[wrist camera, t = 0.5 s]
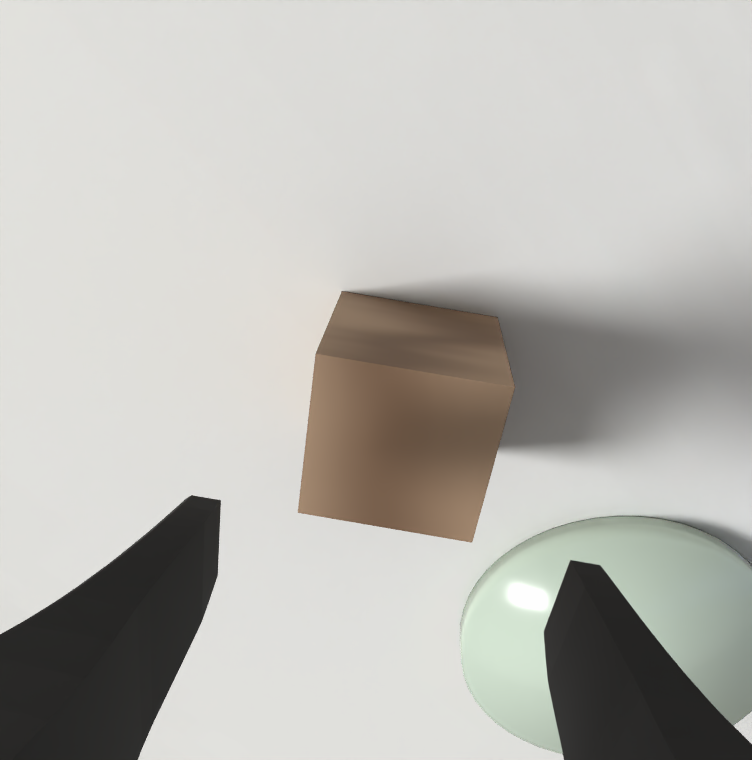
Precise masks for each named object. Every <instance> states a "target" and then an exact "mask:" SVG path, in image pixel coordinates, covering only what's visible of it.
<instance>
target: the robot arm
mask: <svg viewBox="0 0 752 760" xmlns="http://www.w3.org/2000/svg"><path fill="white" fill-rule="evenodd" d="M220 506H221V500H216V499H210V498H204V497H198V496H192V495H191V496H190V497H188V498H187V499H185V500H184V501H183V502H182V503H181V504H180V505H179V506H177V507H176V508H175V509H174V510H173V511H172V512H171V513H170V514H168V515H167V516H166V517H165V518H164V519H163V520H162V521H161V522H159V523H158V524H157V525H156V526H155V527H154V528H152V529H151V530H150V531H149V532H148V533H146V534H145V535H144V536H143V537H142V538H140V539H139V540H138V541H137V542H136V543H134V544H133V545H132V546H131V547H129V548H128V549H127V550H126V551H124V552H123V553H122V554H121V555H119V556H118V557H117V558H116V559H114V560H113V561H112V562H111V563H109V564H108V565H107V566H105V567H104V568H102V569H101V570H100V571H98V572H97V573H96V574H94V575H93V576H91V577H90V578H89V579H87V580H86V581H85V582H83V583H82V584H81V585H79V586H78V587H76V588H75V589H73V590H72V591H71V592H69V593H68V594H66V595H65V596H63V597H62V598H60V599H59V600H57V601H56V602H54V603H52V604H51V605H49V606H48V607H46V608H45V609H43V610H41V611H40V612H38V613H37V614H35V615H33V616H32V617H30V618H28V619H27V620H25V621H23V622H22V623H20V624H18V625H16V626H15V627H13V628H11V629H9V630H7V631H6V632H4V633H2V634H0V760H138V758H139V755H140V752H141V750H142V747H143V745H144V743H145V740H146V738H147V736H148V733H149V731H150V729H151V726H152V724H153V722H154V720H155V718H156V716H157V714H158V712H159V710H160V708H161V706H162V703H163V701H164V699H165V697H166V695H167V693H168V691H169V689H170V687H171V685H172V683H173V681H174V679H175V677H176V674H177V672H178V670H179V668H180V666H181V664H182V662H183V660H184V658H185V656H186V654H187V652H188V650H189V647H190V645H191V643H192V641H193V639H194V637H195V635H196V633H197V631H198V628H199V626H200V624H201V622H202V619H203V616H204V614H205V611H206V608H207V605H208V602H209V599H210V596H211V594H212V591H213V588H214V585H215V582H216V579H217V576H218V553H219V529H220ZM544 643H545V657H546V668H547V678H548V685H549V690H550V695H551V700H552V704H553V709H554V714H555V719H556V724H557V728H558V733H559V738H560V742H561V747H562V752H563V756H564V760H752V744H751V743H750V742H749V741H748V740H747V739H746V738H745V737H744V736H743V735H742V734H741V733H740V732H739V731H738V730H737V729H736V728H735V727H734V726H733V725H732V724H731V723H730V722H729V721H728V720H727V719H726V718H725V717H724V716H723V715H722V714H721V713H720V712H719V711H718V710H717V709H716V707H715V706H714V705H713V704H712V703H711V702H710V701H709V700H708V699H707V698H706V697H705V695H704V694H703V693H702V692H701V691H700V690H699V689H698V687H697V686H696V685H695V684H694V683H693V682H692V681H691V679H690V678H689V677H688V676H687V675H686V674H685V673H684V672H683V670H682V669H681V668H680V667H679V666H678V664H677V663H676V662H675V661H674V660H673V658H672V657H671V656H670V655H669V653H668V652H667V651H666V650H665V649H664V647H663V646H662V645H661V644H660V642H659V641H658V640H657V639H656V637H655V636H654V635H653V634H652V632H651V631H650V630H649V628H648V627H647V626H646V625H645V623H644V622H643V621H642V619H641V618H640V617H639V615H638V614H637V613H636V611H635V610H634V609H633V608H632V606H631V605H630V604H629V602H628V601H627V600H626V598H625V597H624V596H623V594H622V593H621V592H620V590H619V589H618V588H617V586H616V585H615V584H614V582H613V581H612V580H611V578H610V577H609V576H608V574H607V573H606V572H605V571H604V569H603V568H602V567H601V565H597V564H591V563H585V562H579V561H574V560H570V562H569V565H568V567H567V570H566V573H565V575H564V578H563V581H562V584H561V586H560V589H559V592H558V594H557V597H556V600H555V602H554V605H553V608H552V610H551V613H550V616H549V618H548V621H547V624H546V626H545V629H544Z"/></svg>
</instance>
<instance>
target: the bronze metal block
mask: <svg viewBox="0 0 752 760" xmlns="http://www.w3.org/2000/svg"><path fill="white" fill-rule="evenodd" d="M514 389H515V385H514V381H513V377H512V373H511V369H510V365H509V361H508V357H507V353H506V349H505V345H504V341H503V337H502V333H501V329H500V325H499V321H498V317H493V316H487V315H481V314H475V313H469V312H463V311H457V310H451V309H445V308H439V307H433V306H427V305H421V304H415V303H409V302H403V301H397V300H391V299H385V298H379V297H373V296H367V295H361V294H355V293H350V292H344V291H342V292H341V295H340V297H339V300H338V302H337V304H336V307H335V309H334V311H333V314H332V316H331V319H330V321H329V323H328V326H327V328H326V330H325V333H324V335H323V338H322V340H321V342H320V345H319V347H318V349H317V352H316V356H315V364H314V373H313V382H312V391H311V400H310V409H309V418H308V427H307V436H306V445H305V454H304V462H303V471H302V480H301V489H300V498H299V507H298V513H303V514H309V515H315V516H321V517H326V518H332V519H338V520H344V521H350V522H356V523H361V524H367V525H373V526H379V527H385V528H391V529H396V530H402V531H408V532H414V533H420V534H426V535H431V536H437V537H443V538H449V539H455V540H461V541H466V542H472V541H473V537H474V534H475V530H476V526H477V523H478V519H479V516H480V512H481V508H482V505H483V501H484V498H485V494H486V490H487V487H488V483H489V479H490V476H491V472H492V469H493V465H494V461H495V458H496V454H497V450H498V447H499V443H500V440H501V436H502V432H503V429H504V425H505V422H506V418H507V414H508V411H509V407H510V403H511V400H512V396H513V393H514Z"/></svg>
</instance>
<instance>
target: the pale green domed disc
mask: <svg viewBox="0 0 752 760" xmlns="http://www.w3.org/2000/svg"><path fill="white" fill-rule="evenodd" d="M570 560H574V561H579V562H585V563H591V564H597V565H601V567H602V568H603V569H604V571H605V572H606V573H607V574H608V576H609V577H610V578H611V580H612V581H613V582H614V584H615V585H616V586H617V588H618V589H619V590H620V592H621V593H622V594H623V596H624V597H625V598H626V600H627V601H628V602H629V604H630V605H631V606H632V608H633V609H634V610H635V611H636V613H637V614H638V615H639V617H640V618H641V619H642V621H643V622H644V623H645V625H646V626H647V627H648V628H649V630H650V631H651V632H652V634H653V635H654V636H655V637H656V639H657V640H658V641H659V642H660V644H661V645H662V646H663V647H664V649H665V650H666V651H667V652H668V653H669V655H670V656H671V657H672V658H673V660H674V661H675V662H676V663H677V664H678V666H679V667H680V668H681V669H682V670H683V672H684V673H685V674H686V675H687V676H688V677H689V678H690V679H691V681H692V682H693V683H694V684H695V685H696V686H697V687H698V689H699V690H700V691H701V692H702V693H703V694H704V695H705V697H706V698H707V699H708V700H709V701H710V702H711V703H712V704H713V705H714V706H715V707H716V709H717V710H718V711H719V712H720V713H721V714H722V715H723V716H724V717H725V718H726V719H727V720H728V721H729V722H730V723H731V724H732V725H735V724H736V723H738V722H739V721H740V720H741V719H743V718H744V717H745V716H746V715H748V714H749V713H750V712H751V711H752V567H751V565H750V564H749V563H748V562H747V561H746V560H745V559H744V558H743V557H742V556H741V555H740V554H739V553H738V552H737V551H736V550H734V549H733V548H731V547H730V546H728V545H727V544H726V543H724V542H723V541H721V540H720V539H718V538H716V537H714V536H712V535H710V534H708V533H706V532H704V531H701V530H699V529H696V528H693V527H690V526H687V525H684V524H681V523H677V522H672V521H668V520H663V519H656V518H648V517H634V516H615V517H604V518H594V519H589V520H583V521H578V522H573V523H570V524H566V525H563V526H560V527H556V528H553V529H550V530H548V531H546V532H543V533H541V534H538V535H536V536H534V537H532V538H530V539H528V540H526V541H525V542H523V543H521V544H519V545H517V546H516V547H514V548H513V549H511V550H510V551H509V552H507V553H506V554H504V555H503V556H502V557H500V558H499V559H498V560H497V561H496V562H495V563H494V564H493V565H492V566H491V567H490V568H488V569H487V570H486V572H485V573H484V574H483V575H482V577H481V578H480V579H479V580H478V582H477V583H476V585H475V586H474V588H473V590H472V591H471V593H470V595H469V597H468V599H467V602H466V604H465V607H464V610H463V614H462V619H461V625H460V641H461V663H462V668H463V674H464V678H465V681H466V683H467V686H468V689H469V691H470V692H471V694H472V696H473V697H474V699H475V701H476V702H477V704H478V705H479V706H480V707H481V708H482V710H483V711H484V712H485V713H486V714H487V715H488V716H489V717H490V718H491V719H492V720H493V721H494V722H495V723H497V724H498V725H499V726H501V727H502V728H504V729H505V730H506V731H508V732H509V733H511V734H513V735H514V736H516V737H518V738H520V739H522V740H524V741H526V742H528V743H531V744H533V745H535V746H538V747H540V748H543V749H547V750H550V751H553V752H556V753H561V754H563V752H562V747H561V742H560V738H559V733H558V728H557V724H556V719H555V714H554V709H553V704H552V700H551V695H550V690H549V685H548V678H547V668H546V657H545V643H544V629H545V626H546V624H547V621H548V618H549V616H550V613H551V610H552V608H553V605H554V602H555V600H556V597H557V594H558V592H559V589H560V586H561V584H562V581H563V578H564V575H565V573H566V570H567V567H568V565H569V562H570Z"/></svg>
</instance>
